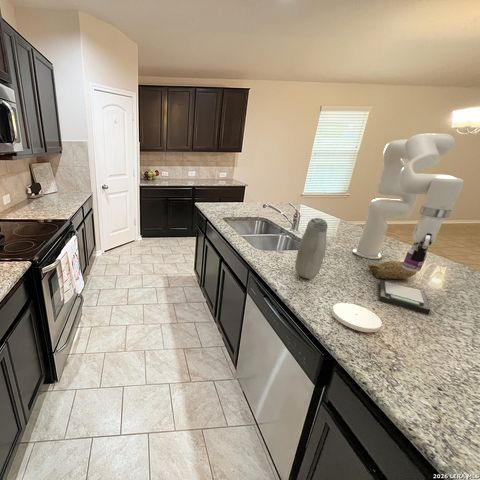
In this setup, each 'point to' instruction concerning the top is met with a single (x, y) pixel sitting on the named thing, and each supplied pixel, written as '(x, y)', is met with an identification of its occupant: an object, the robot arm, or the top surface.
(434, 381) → the top surface
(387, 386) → the top surface
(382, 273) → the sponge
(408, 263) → the pill bottle
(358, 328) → the plastic lid
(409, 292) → the scale
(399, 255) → the top surface
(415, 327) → the top surface
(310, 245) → the gray vase
